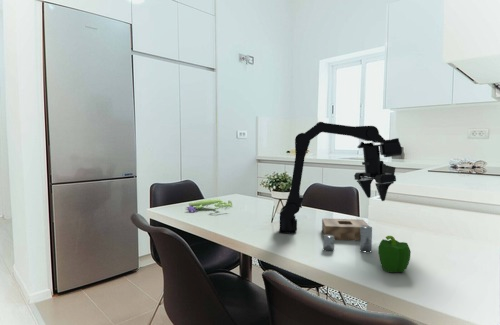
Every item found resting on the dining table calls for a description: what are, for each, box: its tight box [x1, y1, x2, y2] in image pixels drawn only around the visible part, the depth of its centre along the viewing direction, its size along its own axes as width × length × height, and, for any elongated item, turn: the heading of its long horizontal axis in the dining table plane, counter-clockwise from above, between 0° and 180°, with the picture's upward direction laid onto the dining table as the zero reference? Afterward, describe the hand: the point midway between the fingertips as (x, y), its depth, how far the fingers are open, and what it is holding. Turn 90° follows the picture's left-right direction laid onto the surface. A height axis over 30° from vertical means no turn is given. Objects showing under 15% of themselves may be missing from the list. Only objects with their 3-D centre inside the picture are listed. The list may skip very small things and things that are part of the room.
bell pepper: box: [377, 235, 411, 273], centre depth 89 cm, size 8×8×10 cm
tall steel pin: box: [359, 225, 373, 252], centre depth 104 cm, size 4×4×8 cm
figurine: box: [187, 198, 233, 213], centre depth 170 cm, size 18×27×6 cm
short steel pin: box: [322, 234, 335, 252], centre depth 106 cm, size 4×4×4 cm
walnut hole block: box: [321, 218, 370, 241], centre depth 122 cm, size 16×12×5 cm
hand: (375, 199), depth 121 cm, fingers open, 9 cm apart
